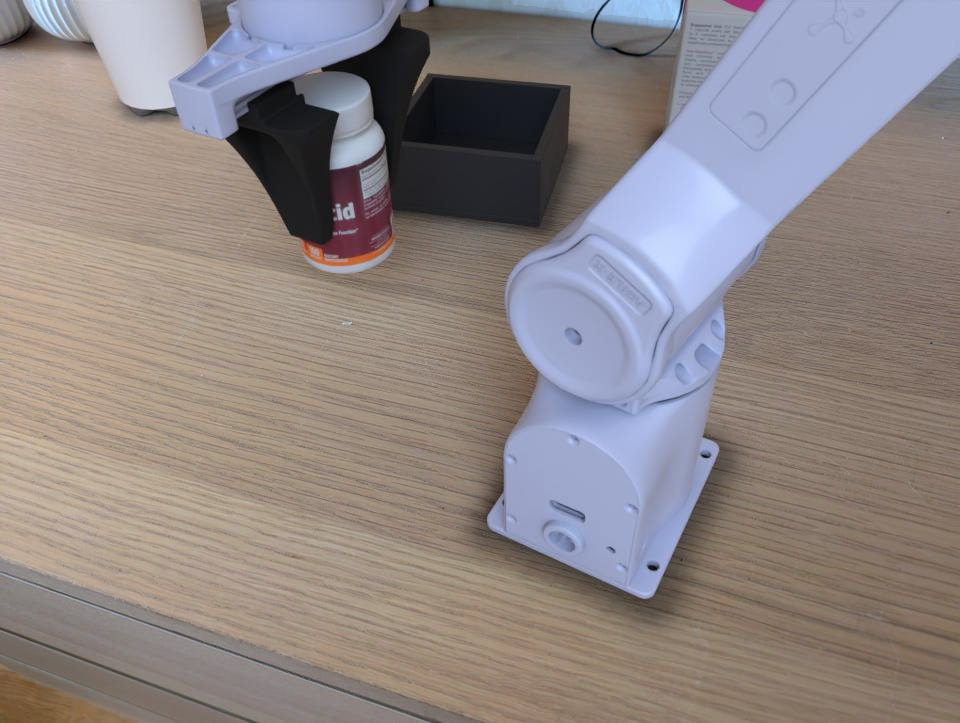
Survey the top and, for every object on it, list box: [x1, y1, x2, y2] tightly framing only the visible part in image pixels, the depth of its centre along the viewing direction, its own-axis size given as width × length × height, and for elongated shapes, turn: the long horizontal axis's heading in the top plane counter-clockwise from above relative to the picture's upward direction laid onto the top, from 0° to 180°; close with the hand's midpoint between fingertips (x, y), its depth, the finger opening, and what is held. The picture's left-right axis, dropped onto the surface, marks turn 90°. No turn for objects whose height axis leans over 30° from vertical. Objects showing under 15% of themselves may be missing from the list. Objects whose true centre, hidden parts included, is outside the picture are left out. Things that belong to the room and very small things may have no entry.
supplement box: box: [662, 0, 765, 133], centre depth 57 cm, size 6×6×12 cm
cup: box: [73, 0, 208, 117], centre depth 65 cm, size 10×10×13 cm
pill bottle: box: [294, 71, 396, 275], centre depth 38 cm, size 5×5×8 cm
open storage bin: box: [390, 72, 572, 228], centre depth 58 cm, size 11×11×5 cm
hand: (344, 207), depth 40 cm, fingers closed on pill bottle, 5 cm apart
